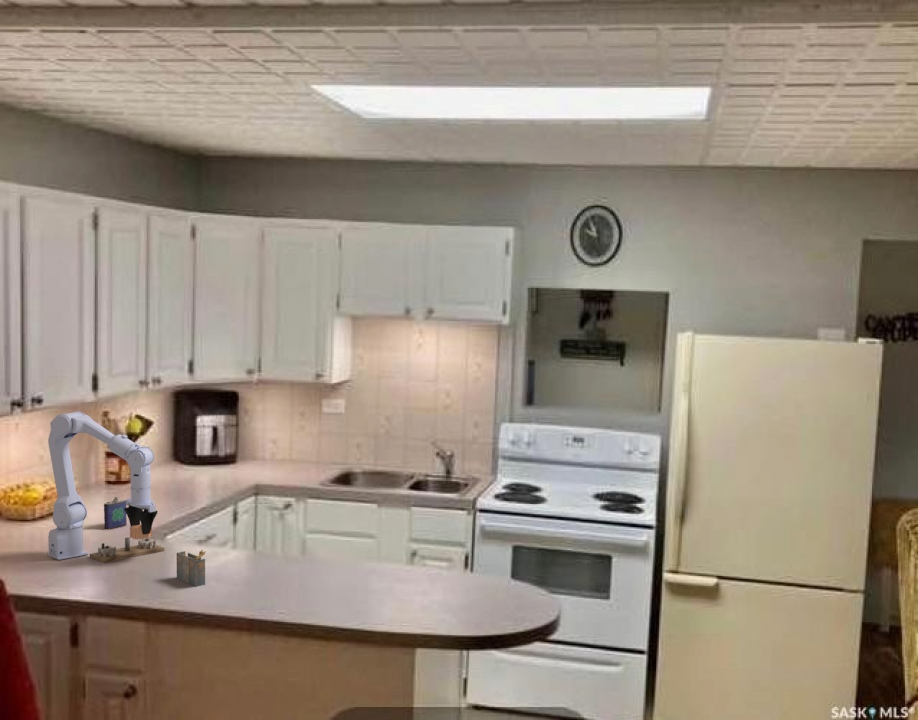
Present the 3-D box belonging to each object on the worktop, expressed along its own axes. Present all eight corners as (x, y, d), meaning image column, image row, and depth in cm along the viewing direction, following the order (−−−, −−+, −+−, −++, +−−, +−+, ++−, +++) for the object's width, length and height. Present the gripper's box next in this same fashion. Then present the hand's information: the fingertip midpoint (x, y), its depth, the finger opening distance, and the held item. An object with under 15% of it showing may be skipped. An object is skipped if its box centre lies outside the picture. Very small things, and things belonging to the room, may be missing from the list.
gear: (136, 540, 284) (136, 530, 284) (126, 536, 288) (126, 526, 288) (155, 536, 288) (155, 526, 288) (145, 533, 293) (145, 523, 292)
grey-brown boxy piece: (206, 585, 263) (206, 551, 262) (196, 588, 261) (196, 553, 260) (186, 577, 271) (186, 543, 270) (176, 579, 269) (176, 545, 268)
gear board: (103, 562, 284) (103, 546, 284) (89, 557, 290) (89, 540, 290) (164, 550, 299) (164, 535, 298) (149, 545, 305) (149, 530, 305)
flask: (123, 524, 335) (123, 494, 335) (129, 525, 334) (129, 494, 334) (102, 529, 327) (102, 498, 327) (108, 530, 326) (108, 499, 325)
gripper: (165, 489, 286) (165, 533, 286) (141, 482, 295) (141, 525, 296) (143, 492, 280) (143, 537, 281) (119, 485, 290) (119, 529, 291)
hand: (140, 532), depth 288 cm, fingers closed on gear, 6 cm apart
